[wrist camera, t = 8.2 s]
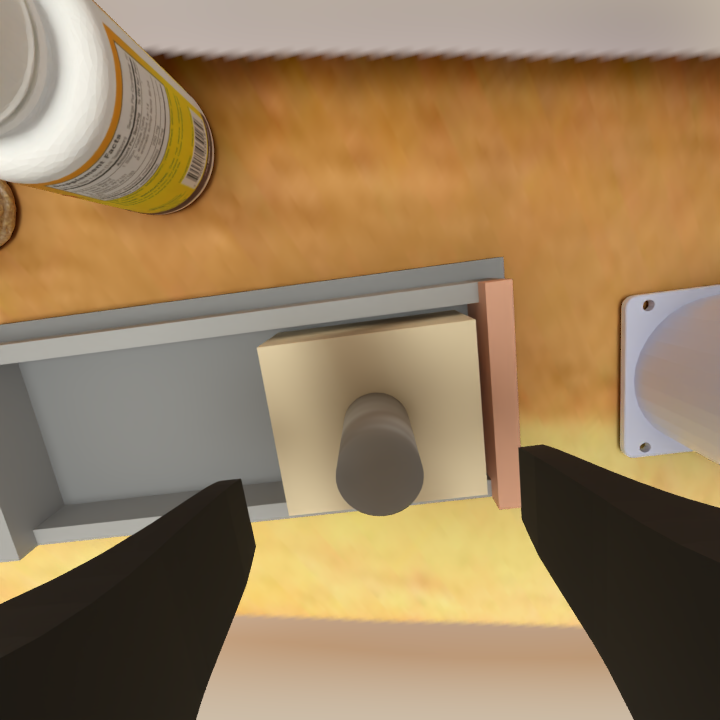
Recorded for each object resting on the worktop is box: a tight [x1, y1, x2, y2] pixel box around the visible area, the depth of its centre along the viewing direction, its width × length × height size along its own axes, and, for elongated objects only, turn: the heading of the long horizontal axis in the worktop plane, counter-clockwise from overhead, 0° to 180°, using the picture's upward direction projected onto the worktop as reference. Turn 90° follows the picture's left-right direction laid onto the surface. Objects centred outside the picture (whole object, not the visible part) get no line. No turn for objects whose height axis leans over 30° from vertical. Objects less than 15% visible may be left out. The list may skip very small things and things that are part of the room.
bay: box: [0, 257, 521, 562], centre depth 18 cm, size 24×11×4 cm, turn 98°
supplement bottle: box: [0, 0, 214, 215], centre depth 13 cm, size 6×6×10 cm
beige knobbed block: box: [257, 310, 488, 516], centre depth 15 cm, size 8×7×8 cm
